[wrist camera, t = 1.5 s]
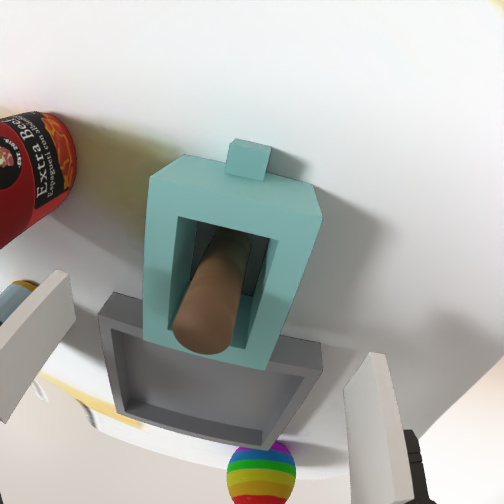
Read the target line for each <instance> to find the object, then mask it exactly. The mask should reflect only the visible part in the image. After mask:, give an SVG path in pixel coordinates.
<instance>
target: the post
mask: <svg viewBox="0 0 504 504" xmlns="http://www.w3.org/2000/svg"><path fill="white" fill-rule="evenodd" d="M249 252H250V240H249V238H248V236H247V235H246V234H245V233H244V232H243V231H239V230H234V229H230V228H226V227H222V228H220V229H218V230H217V231H216V232H215V233H214V234H213V236H212V238H211V240H210V242H209V244H208V246H207V248H206V251H205V253H204V255H203V257H202V259H201V261H200V264H199V266H198V268H197V270H196V272H195V275H194V277H193V279H192V281H191V283H190V286H189V288H188V290H187V292H186V295H185V297H184V299H183V301H182V304H181V306H180V308H179V310H178V313H177V315H176V317H175V320H174V322H173V326H172V330H173V334H174V336H175V338H176V339H177V341H178V342H179V343H180V344H181V345H182V346H184V347H185V348H187V349H188V350H190V351H192V352H195V353H198V354H204V355H213V354H218V353H221V352H223V351H225V350H226V349H227V348H228V347H229V345H230V343H231V339H232V335H233V330H234V325H235V320H236V315H237V310H238V305H239V300H240V296H241V291H242V286H243V281H244V276H245V271H246V266H247V261H248V257H249Z"/></svg>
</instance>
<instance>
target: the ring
mask: <svg viewBox="0 0 504 504" xmlns="http://www.w3.org/2000/svg"><path fill="white" fill-rule="evenodd" d="M270 152H271V147H270V146H266V145H262V144H258V143H253V142H249V141H245V140H240V139H235V140H234V141H233V142H232V143H230V146H229V151H228V156H227V160H226V163H224V162H219V161H214V160H210V159H205V158H200V157H195V156H190V155H185V154H184V155H182V156H181V157H179V158H177V159H176V160H174V161H173V162H171V163H170V164H168V165H167V166H165V167H164V168H162V169H161V170H159V171H158V172H156V173H155V174H153V175H152V176H150V179H149V189H148V199H147V211H146V224H145V241H144V262H143V340H145V341H148V342H151V343H155V344H158V345H161V346H165V347H168V348H172V349H175V350H179V351H183V352H186V353H190V354H194V355H198V356H201V357H205V358H209V359H213V360H218V361H222V362H226V363H230V364H235V365H239V366H244V367H249V368H253V369H258V370H263V371H265V369H266V366H267V364H268V361H269V359H270V357H271V354H272V352H273V349H274V347H275V345H276V342H277V340H278V337H279V335H280V332H281V330H282V327H283V325H284V322H285V320H286V317H287V315H288V312H289V310H290V307H291V305H292V302H293V299H294V297H295V294H296V292H297V289H298V286H299V284H300V281H301V278H302V276H303V273H304V270H305V268H306V265H307V262H308V259H309V257H310V254H311V251H312V248H313V246H314V243H315V240H316V237H317V234H318V231H319V229H320V226H321V223H322V220H323V216H322V213H321V209H320V206H319V203H318V200H317V197H316V194H315V191H314V188H313V185H312V184H308V183H305V182H301V181H297V180H294V179H290V178H286V177H282V176H278V175H274V174H271V173H266V168H267V164H268V160H269V156H270ZM198 221H201V222H205V223H209V224H214V225H218V226H222V227H226V228H230V229H234V230H239V231H243V232H247V233H251V234H255V235H259V236H263V237H267V238H270V240H269V243H268V247H267V250H266V254H265V257H264V261H263V264H262V268H261V271H260V275H259V278H258V281H257V285H256V288H255V292H254V295H253V296H248V295H244V294H241V296H240V300H239V305H238V310H237V315H236V320H235V325H234V330H233V335H232V339H231V343H230V345H229V347H228V348H227V349H226V350H225V351H223V352H221V353H218V354H213V355H204V354H198V353H195V352H192V351H190V350H188V349H187V348H185V347H184V346H182V345H181V344H180V343H179V342H178V341H177V339H176V338H175V336H174V334H173V330H172V326H173V322H174V320H175V317H176V315H177V313H178V310H179V308H180V306H181V304H182V301H183V299H184V297H185V295H186V292H187V290H188V288H189V286H190V283H191V281H189V280H190V272H191V265H192V258H193V251H194V244H195V238H196V231H197V225H198Z"/></svg>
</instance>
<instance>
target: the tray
mask: <svg viewBox="0 0 504 504" xmlns="http://www.w3.org/2000/svg"><path fill="white" fill-rule="evenodd" d="M98 320H99V327H100V334H101V340H102V346H103V352H104V357H105V362H106V367H107V372H108V377H109V382H110V386H111V390H112V395H113V399H114V403H115V407H116V411H117V413H118V414H121V415H124V416H126V417H129V418H132V419H135V420H138V421H141V422H144V423H147V424H150V425H153V426H157V427H160V428H163V429H167V430H170V431H174V432H177V433H181V434H185V435H189V436H193V437H197V438H201V439H205V440H210V441H214V442H219V443H224V444H229V445H234V446H240V447H245V448H251V449H258V450H265V451H268V450H269V449H270V448H271V446H272V445H273V444H274V442H275V441H276V440H277V438H278V437H279V435H280V434H281V433H282V431H283V430H284V428H285V427H286V426H287V424H288V423H289V421H290V420H291V419H292V417H293V416H294V414H295V413H296V411H297V410H298V408H299V407H300V405H301V404H302V402H303V401H304V399H305V398H306V396H307V395H308V393H309V392H310V390H311V389H312V387H313V386H314V384H315V382H316V381H317V379H318V378H319V376H320V374H321V373H322V371H323V366H322V356H321V346H320V343H317V342H311V341H306V340H301V339H296V338H291V337H286V336H281V335H279V337H278V340H277V342H276V345H275V347H274V349H273V352H272V354H271V357H270V359H269V361H268V364H267V366H266V369H265V371H263V370H258V369H253V368H249V367H244V366H239V365H235V364H230V363H226V362H222V361H218V360H213V359H209V358H205V357H201V356H198V355H194V354H190V353H186V352H183V351H179V350H175V349H172V348H168V347H165V346H161V345H158V344H155V343H151V342H148V341H145V340H143V301H142V300H138V299H135V298H132V297H129V296H125V295H122V294H119V293H116V292H113V293H112V295H111V296H110V297H109V299H108V300H107V302H106V303H105V304H104V306H103V307H102V309H101V310H100V311H99V313H98Z"/></svg>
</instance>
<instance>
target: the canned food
mask: <svg viewBox="0 0 504 504" xmlns="http://www.w3.org/2000/svg"><path fill="white" fill-rule="evenodd" d="M75 174H76V153H75V147H74V144H73V141H72V138H71V136H70V134H69V132H68V130H67V129H66V127H65V126H64V125H63V123H62V122H60V121H59V120H58V119H57V118H56V117H54V116H52V115H50V114H46V113H42V112H37V111H34V112H27V113H22V114H18V115H14V116H10V117H6V118H2V119H0V249H2V248H3V247H4V246H5V245H7V244H8V243H9V242H10V241H12V240H13V239H14V238H16V237H17V236H18V235H20V234H21V233H22V232H24V231H25V230H26V229H28V228H29V227H30V226H32V225H33V224H35V223H36V222H37V221H39V220H40V219H42V218H43V217H45V216H46V215H47V214H49V213H50V212H52V211H53V210H55V209H56V208H57V207H59V206H60V204H61V203H62V202H63V201H64V199H65V198H66V197H67V195H68V194H69V192H70V190H71V188H72V186H73V183H74V179H75Z"/></svg>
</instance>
